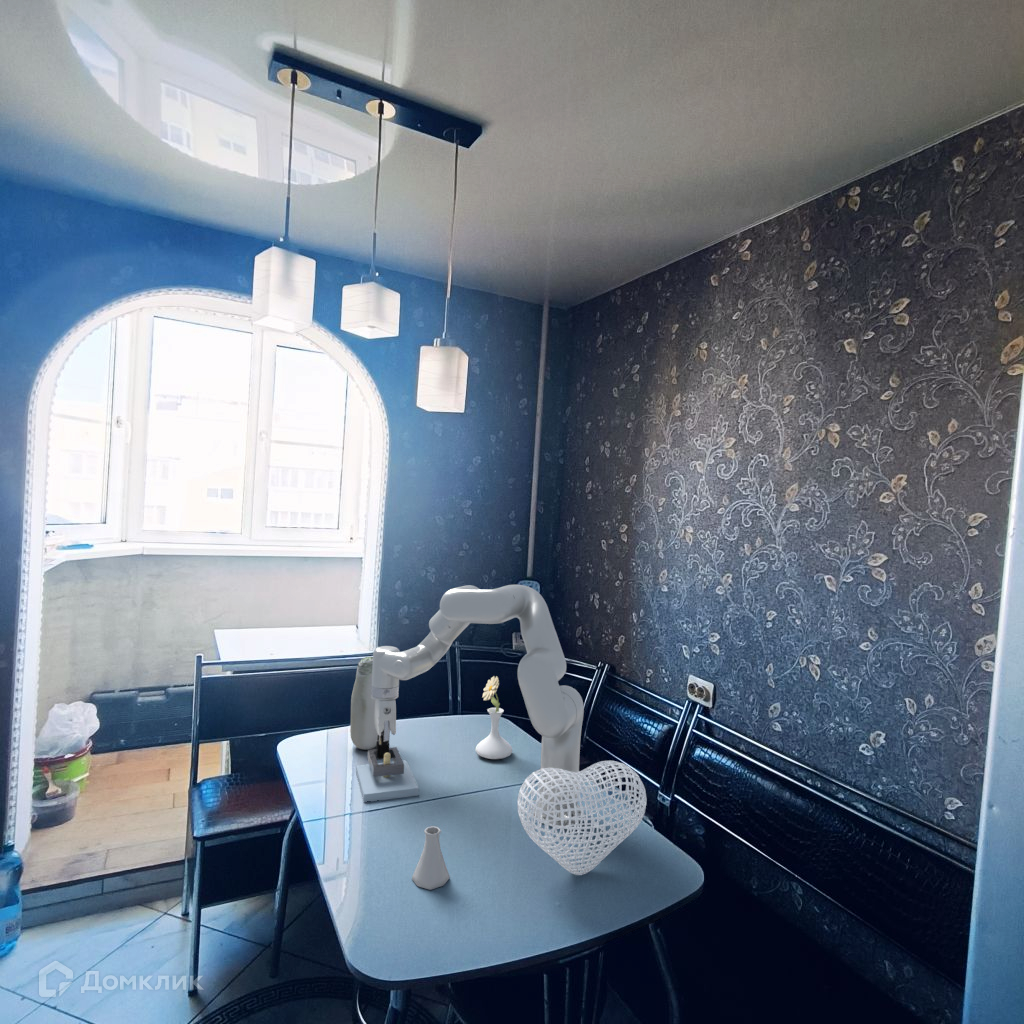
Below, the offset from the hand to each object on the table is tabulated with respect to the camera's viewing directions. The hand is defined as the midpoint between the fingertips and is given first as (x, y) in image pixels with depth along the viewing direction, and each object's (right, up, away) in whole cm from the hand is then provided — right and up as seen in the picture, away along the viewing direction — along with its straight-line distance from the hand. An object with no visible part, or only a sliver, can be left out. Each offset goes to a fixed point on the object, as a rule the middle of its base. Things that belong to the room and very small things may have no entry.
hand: (382, 756), depth 173 cm
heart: (+51, -7, -45) cm, 68 cm away
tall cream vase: (-8, -4, +17) cm, 19 cm away
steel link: (+2, -1, -5) cm, 5 cm away
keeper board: (+3, -5, -7) cm, 9 cm away
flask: (+20, -6, -49) cm, 53 cm away
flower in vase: (+31, -6, +14) cm, 34 cm away
